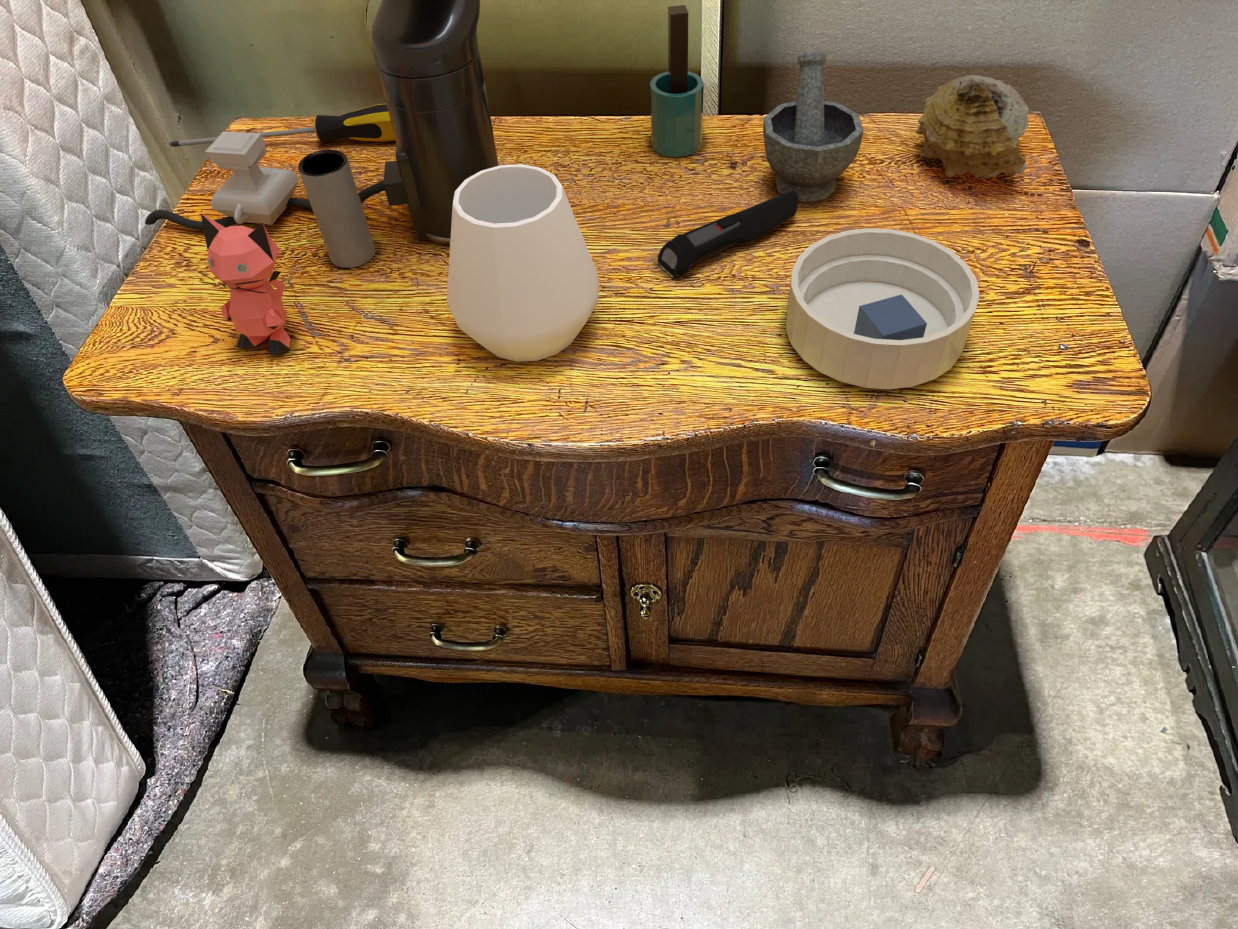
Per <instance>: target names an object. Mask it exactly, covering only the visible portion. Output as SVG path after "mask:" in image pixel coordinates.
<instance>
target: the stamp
mask: <svg viewBox="0 0 1238 929" xmlns="http://www.w3.org/2000/svg"><path fill="white" fill-rule="evenodd" d="M217 137H218V138H217V139H216V140H215V141H214V142H213V143H210V146H209V147H208V148H207V149H206V150H205V151H204V153H205V154H206V156H207V157H208V158H209V160H210V162H211V163H212V164H215V165H216V166H217V168H218V169H220V170H228V171H232V172H233V173H232V175H230V177H229V178H228V179H227V180H226V181H225V182H224V183H223V184H222V185H221V186H220V187H219V189H218V190H217V191H216V192H215V193H214V194H213V195H212V196H211V201H210V204H211V208H212V210H214V211H215V212H218V213H219V214H221V215H223V216H225V217H228V216H229V217H234V219H235V221H236V223H238V224H239V225H242V224H244V223H252V224H259V225H260V224H261V223H263V224H264V225H269V226H272V225H273V224H274V223H275V222H276V221H277V220H278V219H279V217H280V216H281V215H282V214H283V212H284V211H285V210H286V209H287V207H286V204H287V202H288V200H289V199H290V198H294V197H293V196H294V194H295V192H296V189H297V187H298V185H299V182H300V178H299V176H298V174H297V173H296V172H295V171H293V170H291V169H286V168H275V167H265V166H259V163H260V161H261V160H262V159H263V158H265V156H266V154H267V152H268V151H267V148H266V145H267V144H266V143H265V139H264V138H263V137H262V134H261V132H241V131H239V132H238V131H222V133H220V134H219V136H217Z"/></svg>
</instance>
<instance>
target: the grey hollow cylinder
mask: <svg viewBox="0 0 1238 929" xmlns="http://www.w3.org/2000/svg"><path fill="white" fill-rule="evenodd" d="M297 171H298V173H299V176H300V179H301V182H302V184H303V187H304V190H305V193H306V195H307V198H308V199H307V200H309V201H310V204H311V207H312V210H311V211H312V212H313V216H314V218H315V221H316V224H317V226H318V229H319V232H320V235H321V238H322V240H323V243H324V246H325V249H326V252H327V255H328V257H329V260H330V262H331V263H332V264H333V265H334V266H336V267H339V268H344V269H352V268H357V267H359V266H362V265H364V264H367V263H368V262H369V261H371V260H372V258H373V257H374V256H375V254H376V248H375V247H376V246H375V243H374V240H373V237H372V233H371V230H370V226H369V223H368V220H367V217H366V213H365V210H364V207H363V203H362V204H361V200H360V197H359V194H358V193H359V191H358V187H357V184H356V181H355V178H354V175H353V171H352V167H351V164H350V162H349V159H348V156H347V154H345V153H344V152H343V151H341V150H338V149H320V150H316V151H313V152H311V153H309V154H306V155H305V156H304V157H302V159H300V161H299V163H298V165H297Z"/></svg>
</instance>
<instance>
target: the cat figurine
mask: <svg viewBox="0 0 1238 929" xmlns="http://www.w3.org/2000/svg"><path fill="white" fill-rule="evenodd" d="M200 217H201V221H202V223H203V229H204V230H203V233H204V239H205V245H206V250H207V257H206V261H207V263H208V269H209V272H210V273H211V274H212V275H213V276H214V277H215V278H216V279H217V280H219V282H217V283H218V285H220V286H222V287H223V288H225V289H228V290H229V289H230V294H229V300H227V302H225V303H224V304H223V305H222V306H221V307H220V311H221V315H222V317H223V318H224V319H226V320H227V321H228V322H232V325H233V328H234V331H237V332H238V333H240V334H239V337H238V340H237V343H236V347H238V348H240V349H249V348H253V347H256V346H257V345H259V344H261V343H262V342H264V341H265V340H268V342H267V346H266V348H265V350H266V351H267V352H268V354H270V355H281V354H283V353H284V352H286V351H288V350H289V349H290V347H291V337H290V336H289V334H288V333H287V331H286V330H285V329H284V327H283V326H284V323H285V322H286V320H287V319H288V317H287V313H286V309H285V305H284V303H283V295H284V290H285V287H286V283H284V282H283V281H281V280H279V279H278V277H279V276H280V275H281V273H282V271H281V270H274V269H275V266H276V262H277V260H278V256H279V252H280V249H281V248H280V247H279V245H278V244H277V243H276V242H275V241H274V240H273V239H272V237H271V236H270V235H269V234H270V233H269V232H268V230H267V228H266V226H265V224H263V223H261V224H259V225H258V226H257V227H255V229H253V228H251V227H248V226H245V225H232V226H229V227H224V226H222V225H220V224H219V223H217V222H215V221H214V220H215V219H212V218H210V217H208V216H207V215H205V214H203V213H202V212H200ZM194 270H195V271H196V272H197V273H198V274H201V275H202V276H204V277H206V278H208V279H210V280H211V281H213V282H210V281H209V282H207V281H202V280H199V283H201V284H207V285H212V286H213V285H214V286H217V283H216V280H215V279H214V278H212V277H211V276H208V275H206V274H205V273H203V272H201V271H199V270H197V269H196V268H194ZM274 287H275V288H274ZM269 336H270V337H269ZM268 338H269V339H268Z"/></svg>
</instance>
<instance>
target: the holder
mask: <svg viewBox="0 0 1238 929" xmlns="http://www.w3.org/2000/svg"><path fill="white" fill-rule="evenodd" d="M704 86H705V83H704V81H703V78H702V76H700V75H698V74H697V73H695V72H693V71H690V70H688V92H686V93H681V94H670V93H669V73H668V71H664V72H662V73H658V74H656V75H655V76H654V77H652V78H651V81H650V83H649V112H650V113H649V114H650V140H651V141H650V142H651V148H652V149H653V151H654V152H655V153H657V154H659V155H661V156H663V157H669V158H682V157H683V158H684V157H687V156H691V155H693V154H695V153H697V152H699V150H700V149H701V147H702V145H703V131H704V128H703V127H704V125H703V123H704Z"/></svg>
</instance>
